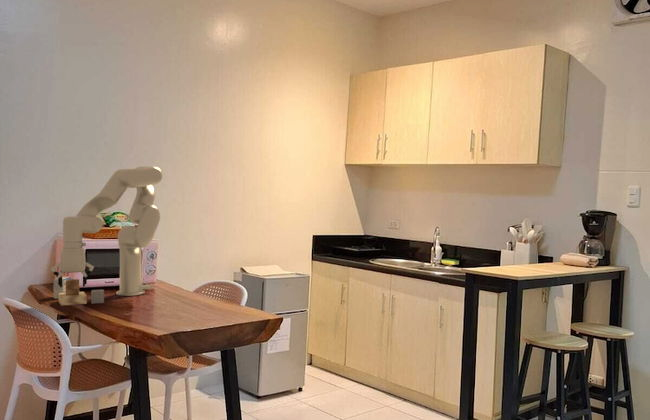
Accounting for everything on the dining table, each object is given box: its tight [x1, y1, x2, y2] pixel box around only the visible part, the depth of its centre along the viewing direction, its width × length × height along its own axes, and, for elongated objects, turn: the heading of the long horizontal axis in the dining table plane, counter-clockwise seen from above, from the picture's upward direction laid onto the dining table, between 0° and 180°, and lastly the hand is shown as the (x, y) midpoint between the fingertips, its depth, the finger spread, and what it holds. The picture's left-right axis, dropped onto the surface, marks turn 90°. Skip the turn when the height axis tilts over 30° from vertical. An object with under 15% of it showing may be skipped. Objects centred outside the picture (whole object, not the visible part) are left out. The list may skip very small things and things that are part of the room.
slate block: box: [90, 289, 105, 304], centre depth 249 cm, size 5×5×5 cm
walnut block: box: [66, 278, 80, 295], centre depth 247 cm, size 5×5×6 cm
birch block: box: [57, 291, 88, 306], centre depth 248 cm, size 10×10×4 cm
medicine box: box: [53, 276, 72, 299], centre depth 260 cm, size 8×4×9 cm, turn 179°
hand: (72, 286), depth 248 cm, fingers open, 8 cm apart
